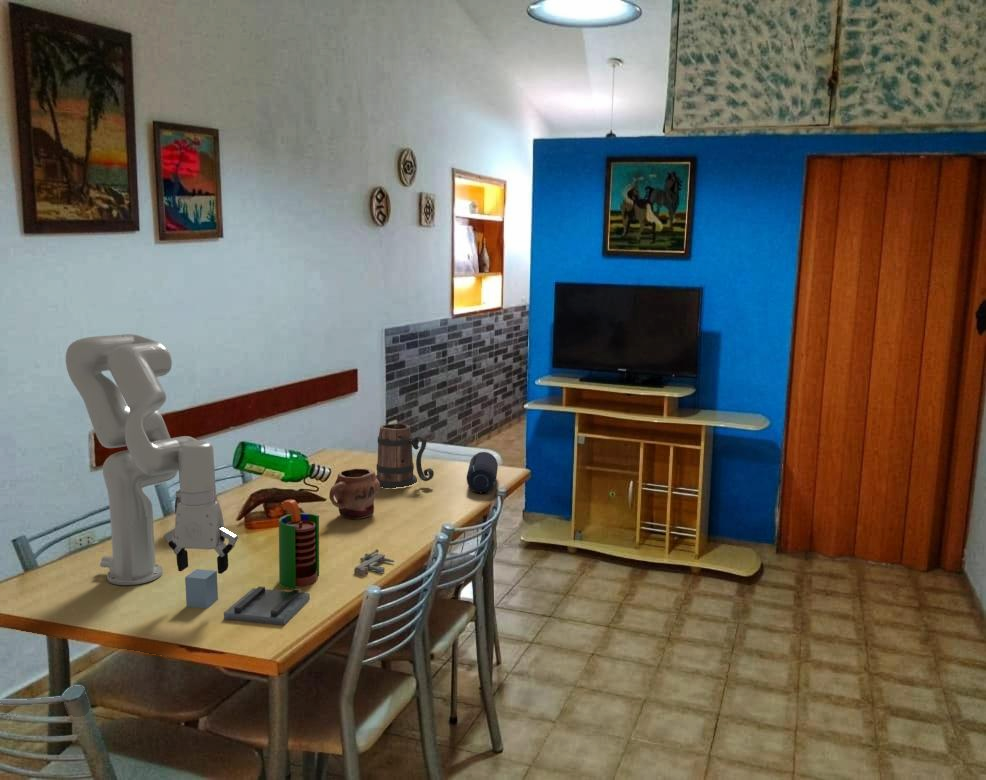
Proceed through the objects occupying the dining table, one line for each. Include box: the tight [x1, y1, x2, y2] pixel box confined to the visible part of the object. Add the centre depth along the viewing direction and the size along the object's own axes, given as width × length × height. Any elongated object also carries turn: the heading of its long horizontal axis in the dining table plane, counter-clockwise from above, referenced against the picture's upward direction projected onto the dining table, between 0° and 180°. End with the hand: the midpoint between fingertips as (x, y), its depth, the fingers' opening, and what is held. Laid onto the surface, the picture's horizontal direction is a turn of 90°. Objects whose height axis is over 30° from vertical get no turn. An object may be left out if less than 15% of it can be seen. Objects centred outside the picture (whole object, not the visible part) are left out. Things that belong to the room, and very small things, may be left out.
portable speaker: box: [466, 451, 499, 493], centre depth 294 cm, size 25×10×10 cm, turn 178°
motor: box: [278, 499, 320, 590], centre depth 207 cm, size 10×9×20 cm
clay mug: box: [328, 468, 381, 520], centre depth 257 cm, size 20×12×14 cm, turn 152°
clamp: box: [353, 548, 395, 577], centre depth 219 cm, size 15×2×10 cm
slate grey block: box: [184, 568, 219, 609], centre depth 195 cm, size 5×7×7 cm
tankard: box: [375, 423, 435, 489], centre depth 294 cm, size 24×17×20 cm
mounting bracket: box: [223, 586, 311, 626], centre depth 191 cm, size 14×14×2 cm
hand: (203, 570), depth 193 cm, fingers open, 9 cm apart
